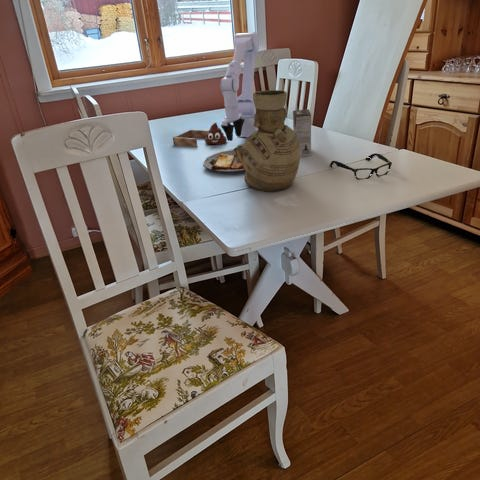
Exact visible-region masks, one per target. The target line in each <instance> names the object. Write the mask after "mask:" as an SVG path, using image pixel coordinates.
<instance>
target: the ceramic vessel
mask: <svg viewBox="0 0 480 480" xmlns="http://www.w3.org/2000/svg"><path fill="white" fill-rule="evenodd" d="M252 94H253V101H254V105H255V108H256V114H255V116H254V124H253V125H254V126H255V127H258V131H254V132H253V133H252V134H251V135H250V136H249V137H246V139H244V142H243V143H242V144H241V145H237V146H236V147H234V148H233V150H234V152H235V153H236V162H237V163H241V161H242V164H243V168H244V169H245V170H244V171H245V174H244V178H243V180H244V183H245V184H246V186H248V187H249V188H252V189H255V190H258V191H260V192H261V191H262V192H266V193H267V192H268V193H273V192H279V191H283V190H285V189H288V188H289V187H291V185H292V184H293V183H294V181H295V178H296V177H297V174H298V170H299V168H300V167H299V166H300V162H301V156H300V146H299V141H298V137H297V135H296V133H295V132H294V130H293V128H291V127H290V126H288V125H287V124H285V121H286V119H287V114H288V113H287V110H286V108H285V107H286V102H287V97H288V93H287V91H285V90H275V89H272V90H271V89H269V90H267V89H266V90H260V91H255V92H253V93H252Z"/></svg>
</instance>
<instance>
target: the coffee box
mask: <svg viewBox="0 0 480 480" xmlns="http://www.w3.org/2000/svg"><path fill="white" fill-rule="evenodd" d="M292 126H293V127H292V130H294V132H295V133H296V135H297V137H298V141H299V146H300V157H307V156H312V114H311V111H310V109H298V110H292Z"/></svg>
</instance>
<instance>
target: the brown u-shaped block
mask: <svg viewBox="0 0 480 480" xmlns="http://www.w3.org/2000/svg"><path fill="white" fill-rule="evenodd" d="M208 132H209V130H206V129H205V130H203V129H188V130H187V131H184V132H182V133H179V134H177V135H176V136H174V137H173V136H172V141H173V142H172V143H173V146H181V147H182V146H183V147H196V148H197V147H198V141H197V140H198V139H197V138H200V139H206V138H207V136H206V135H207V133H208Z"/></svg>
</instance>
